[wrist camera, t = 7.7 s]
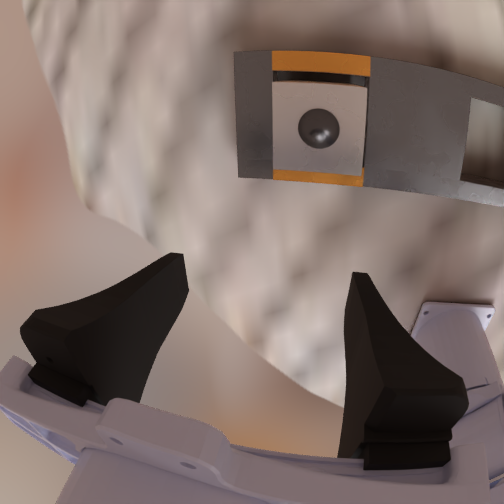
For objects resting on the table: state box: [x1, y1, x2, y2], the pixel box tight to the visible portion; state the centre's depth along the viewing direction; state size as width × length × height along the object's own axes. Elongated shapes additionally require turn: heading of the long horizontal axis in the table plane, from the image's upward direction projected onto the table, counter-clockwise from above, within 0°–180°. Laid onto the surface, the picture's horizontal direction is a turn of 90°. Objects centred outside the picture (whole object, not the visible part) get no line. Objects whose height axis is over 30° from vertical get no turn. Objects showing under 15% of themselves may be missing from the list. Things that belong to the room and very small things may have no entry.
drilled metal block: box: [272, 80, 367, 176], centre depth 16 cm, size 4×4×7 cm
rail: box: [234, 51, 504, 207], centre depth 17 cm, size 8×22×2 cm, turn 92°
